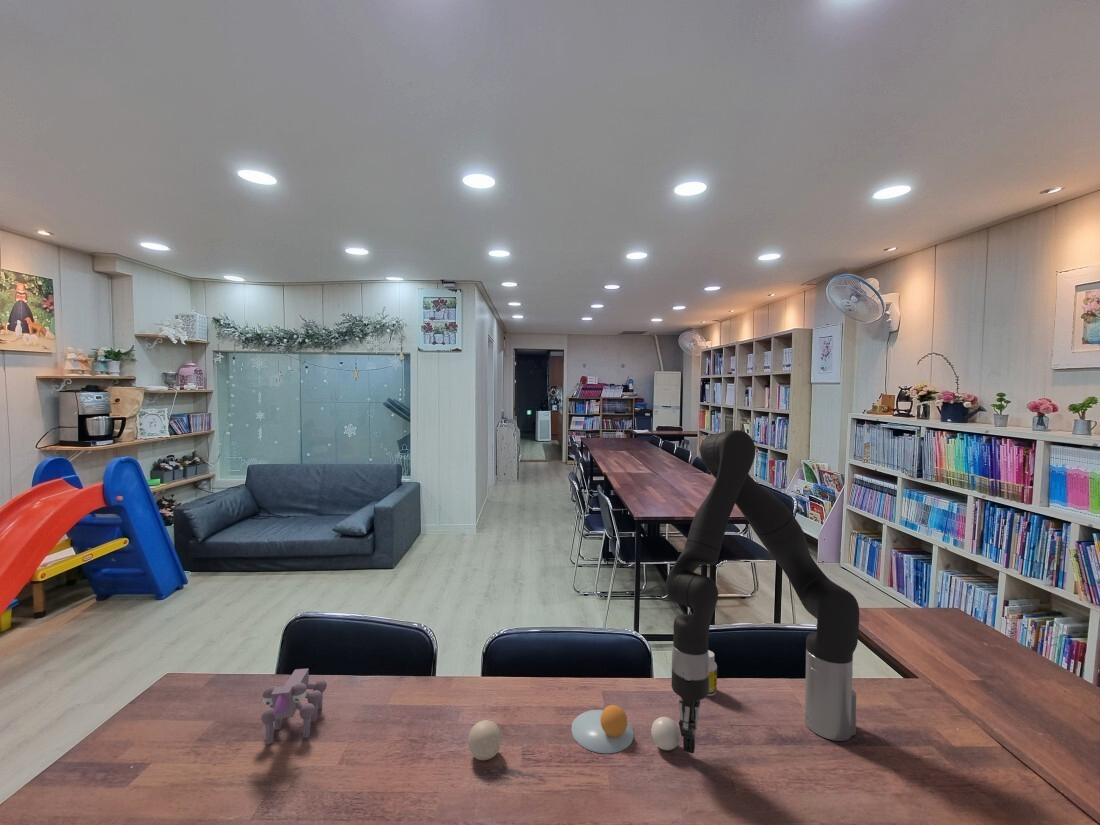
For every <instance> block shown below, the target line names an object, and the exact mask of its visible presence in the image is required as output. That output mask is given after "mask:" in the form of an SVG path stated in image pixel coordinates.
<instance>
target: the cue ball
mask: <svg viewBox="0 0 1100 825" xmlns="http://www.w3.org/2000/svg"><path fill="white" fill-rule="evenodd" d="M650 731H651V733H650V734H651V738H652V740H653V742H654V744H655V745H656V746H657V747H658V748H659V749H661V750H664V751H672V750H674V749H675V748H676V747H677V746H678V745H679V742H680V739H681V732H680V727H679V725H677V723H676V722H675V721H674V720H673V719H672V718H670V717H668V716H660V717H658V718H655V720H654V721H653V723H652V725H651V730H650Z"/></svg>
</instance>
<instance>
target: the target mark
mask: <svg viewBox="0 0 1100 825" xmlns="http://www.w3.org/2000/svg"><path fill="white" fill-rule="evenodd" d="M603 710H604V709H591V710H587V711H585V712H583V713H581V714H579V715H578V716H576V717H575V718H574V720H573V721H572V724H571V734H572V737H573V738H574V740H575V742H576V743H577V744H579V745H580V746H581V747H582V748H584V749H586V750H588V751H591V752H594V753H598V754H604V755H605V754H606V755H607V754H615V753H620V752H621V751H622V752H623V751H624V750H626V749H627V748H628V747H629V746H631V744H632V742H633V741H634V737H635V730H634V727H633V726H632V724H631V723H630V721H629V720H628V719H627V728H626V730H625V732H624V733H623V734H622V735H621V736H618V737H611V736H609V735H607V734H606V733H605V732H604V730H603V729H602V726H601V722H600V718H601V714H602V712H603Z"/></svg>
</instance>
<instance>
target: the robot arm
mask: <svg viewBox="0 0 1100 825" xmlns="http://www.w3.org/2000/svg"><path fill="white" fill-rule="evenodd" d="M699 446H700V447H699V455H700V458H701V460H702V463H703V464H704V466H705V468H706V469H707V470H708V471H709V473H710V474H711V475H712V476H713V477H714V478H715V481H714V483H713V485H712V487H711V489H710V490H709V493H708V494H707V496H706V497H705V498H704V500H703V501H702V503H701V504H700V506H699V508H698V509H697V511H696V512H695V515H694V517H693V518H692V521H691V524H690V528H689V530H688V533H687V534H688V535H687V538H686V542H685V545H684V548H683V549H682V551H681V552H680V554H679V556H678V558H677V560H676V562H675V563H674V565H672V568H671V569H670V571H669V573H668V575H667V577H666V581H665V592H666V595H667V597H668V598H669V599H670V601H672V602H673V603H677V604H678V605H681V606H684V607H687V608H689V609H692V611H693V614H692V613H691V614H689V613H684V614H683V613H681V614H679V615H677V616H676V617H675V618H674V621H673V632H672V633H673V639H672V640H673V643H672V651H671V688H672V691H673V692H674V693H675V694H676V695H678V696H679V697H680V700H679V701H678V710H679V721H678V728H679V732H680V737H682V738H683V740H682V741H683V744H682V748H683V751H684V752H686V753H689V754H695V749H696V735H697V730H698V723H699V718H700V708H701V704H702V703H701V702H702V701H701V700H704V699H706V698H707V697H709V696H708V694H709V653H708V650H709V631H710V627H711V622H712V618H713V615H714V612H715V609H716V606H717V603H718V599H719V590H718V587H717V584H716V582H715V581H714V580H713V578H711V577H709V576H707V575H703V574H699V573H696V572H695V571H696V570H697V568H699V567H701V566H713V565H716V564H717V562H718V560H719V557H720V552H721V549H722V545H723V541H724V539H725V538H724V537H725V534H726V529H727V527H728V523H729V520H730V518H731V515H732V512H733V509H734V507H735V505H736V506H737V508H738V509H739V511H740V512H741V514H742V515H743V517H744V518H745V519H746V521H747V522H748V524H749V526H750V527H751V528H752V531H753V532H754V533H755V535H756V536H757V537H758V539H759V540H760V542H761V544H762V545H763V546H764V548H765V549H766V551H767V552H768V553H769V554H770V555H771V557H772V558H773V560H774V561H775V562H776V563H777V564H778V565H779V566H778V567H780V568H781V570H783V571H782V572H784V573H785V575H786V577H787V579H788V581H789V582H790V585H792V588H793V589H794V592H795V595H797V597H798V599H799V601H800V603H801V604H802V606H803V608H804V609H805V610H806V612H808V613H809V614H810V615H811V616H812V617H814V618H815V619H816V620H817V621H816V622H817V623H816V632H811V633H808V635H807V636H806V639H805V688H804V690H805V698H804V703H805V704H804V722H805V725H806V726H807V728H808V729H809V730H810V731H811V732H813V733H814V734H816V735H818V736H820V737H822V738H824V739H827V740H831V741H836V742H837V741H838V742H843V741H844V742H845V741H848V740H850V739H851V737H852V736H855V735H856V734H857V733H856V731H857V692H856V691H855V690H854V689H853V676H854V675H853V674H854V673H853V664H854V661H853V660H854V652H855V651H856V649H857V645H858V641H859V640H858V638H859V627H860V607H859V603H858V601H857V600H858V599H857V598H856V597H855V595H854V594H853V593H851V592H850V591H849V590H847V589H846V588H844V587H842V586H841V585H839V584H837V583H835V582H834V581H832V580H831V579H830V578H829V577H828V576H827V575H826V574H825V573H824V572H823V571H822V570H821V568H820V567H819V566H818V564H817V563H816V562H815V560H814V558H813V557H812V555H811V553H810V550H809V545H808V542H807V538H806V537H807V536H806V535H805V532H804V530H803V528H802V526H801V525H800V523H799V521H797V519H796V517H795V516H794V514H793V512H792V511H791V510H790V508H789V507H788V506H787V505H786V504H785V503H784V502H783V501H781V500H780V498H778V497H777V496H776V495H775V494H773V493H771V492H770V491H769V490H767V489H766V488H765V487H763V486H762V485H760V484H759V482H757V481H755V479H754V478H753V477H752V476H751V475H750V474H749V473H750V471H751V468H752V466H753V465H754V462H755V458H756V445H755V442H754V440H753V438H752V436H751V435H749V434H748V433H747V432H745V431H744V430H739V429H738V430H737V429H734V430H733V429H732V430H728V431H727V430H726V431H723V432H718V433H717V432H716V433H713V434H709V435H708V436H706V437H704V439H702V440H701V443H700V445H699Z"/></svg>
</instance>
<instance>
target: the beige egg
mask: <svg viewBox="0 0 1100 825" xmlns="http://www.w3.org/2000/svg"><path fill="white" fill-rule="evenodd" d="M467 739H468V740H467V741H468V749H469V751H470V753H471V755H472V757H473V758H475V759H476V760H478V761H488V760H490V759H492V758H494V757H495V756H496V755H497V754H498V752H499V751H500V748H501V745H502V734H501V731H500V728H499V726H498V725H497V724H496V723H495V722H494V721H493V720H492V721H491V720H487V719H485V720H480V721H478V722H476V723H475V724H474V725H473V726H472V727H471V729H470V731H469V734H468V738H467Z"/></svg>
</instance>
